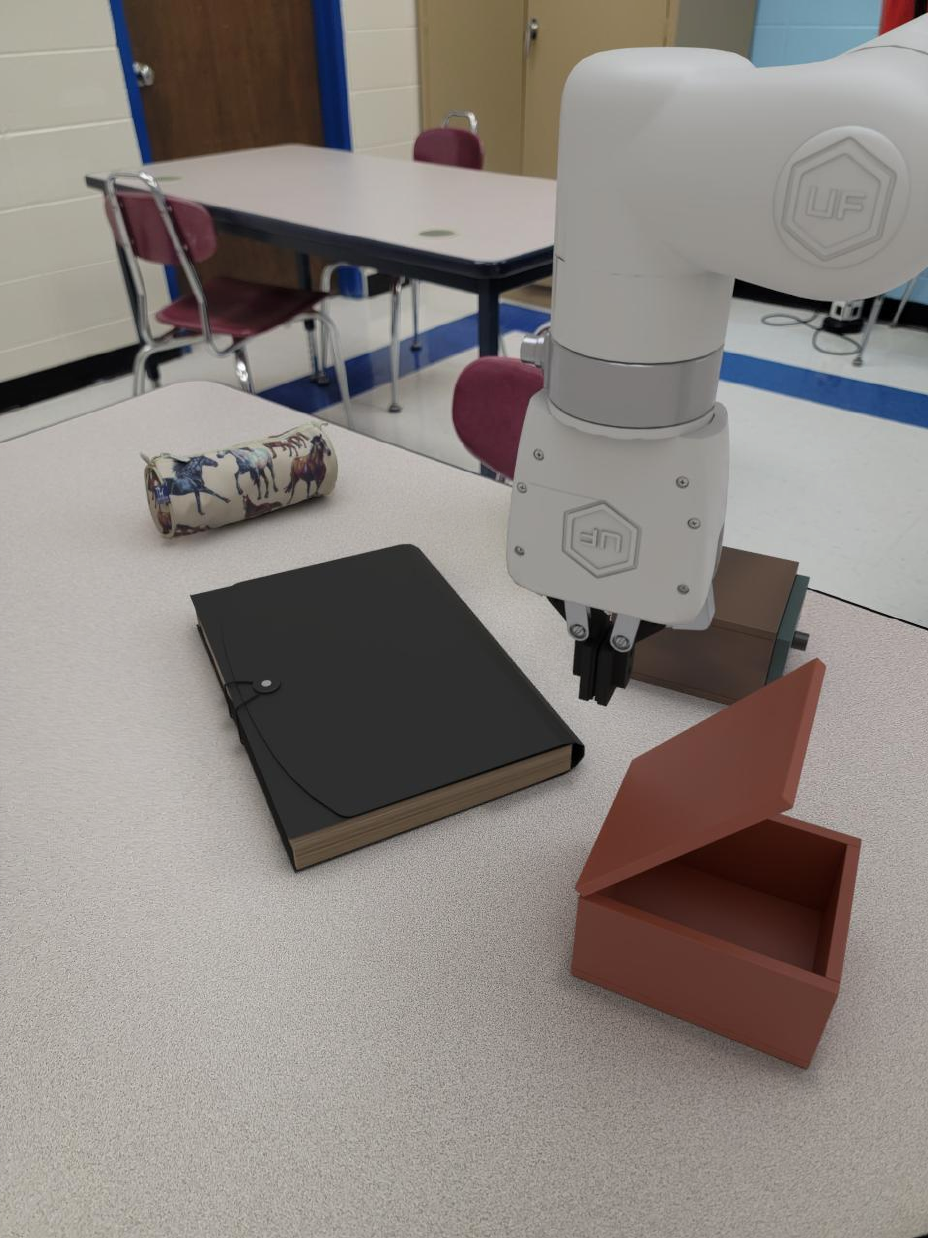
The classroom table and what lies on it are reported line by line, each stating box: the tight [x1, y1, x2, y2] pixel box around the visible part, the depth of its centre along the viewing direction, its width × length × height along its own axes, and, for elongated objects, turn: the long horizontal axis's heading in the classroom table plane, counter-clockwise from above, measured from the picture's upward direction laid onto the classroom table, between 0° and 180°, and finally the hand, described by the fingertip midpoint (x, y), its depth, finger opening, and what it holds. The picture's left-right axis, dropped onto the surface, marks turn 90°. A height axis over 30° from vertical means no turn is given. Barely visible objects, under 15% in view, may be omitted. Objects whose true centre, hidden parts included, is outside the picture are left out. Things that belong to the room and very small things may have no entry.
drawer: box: [764, 573, 811, 687], centre depth 80 cm, size 14×10×7 cm
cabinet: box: [610, 545, 800, 706], centre depth 81 cm, size 14×12×9 cm
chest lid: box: [574, 657, 827, 897], centre depth 52 cm, size 15×12×1 cm
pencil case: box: [139, 420, 339, 540], centre depth 104 cm, size 22×8×10 cm, turn 121°
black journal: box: [189, 543, 586, 873], centre depth 79 cm, size 33×4×24 cm
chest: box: [570, 813, 863, 1070], centre depth 57 cm, size 15×12×8 cm
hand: (600, 687), depth 51 cm, fingers closed
